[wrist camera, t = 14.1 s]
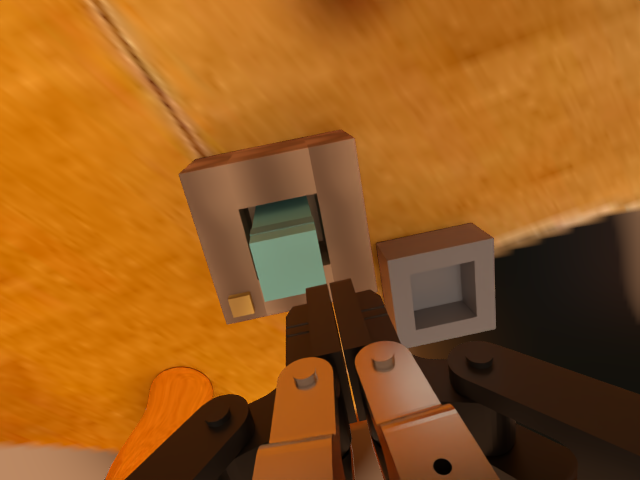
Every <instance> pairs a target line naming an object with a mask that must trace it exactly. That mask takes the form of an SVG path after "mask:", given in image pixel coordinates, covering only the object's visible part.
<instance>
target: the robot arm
mask: <svg viewBox="0 0 640 480" xmlns="http://www.w3.org/2000/svg"><path fill="white" fill-rule="evenodd" d="M329 285H330V290H331V295H332V299H333V304H334V309H335V313H336V318H337V323H338V328H339V332H340V337H341V342H342V346H343V351H344V356H345V360H346V364H347V369H348V373H349V378H350V382H351V386H352V391H353V395H354V400H355V404H356V408H357V413H358V417H359V421H363V420H367V423H368V427H369V431H370V436H371V440H372V445H373V449H374V452H375V455H376V458H377V461H378V464H379V467H380V470H381V473H382V476H383V479H384V480H640V395H639V394H636V393H633V392H630V391H628V390H625V389H622V388H619V387H616V386H613V385H610V384H608V383H605V382H602V381H599V380H596V379H593V378H590V377H588V376H585V375H582V374H579V373H576V372H573V371H570V370H568V369H565V368H562V367H559V366H556V365H553V364H550V363H547V362H544V361H541V360H539V359H536V358H533V357H530V356H527V355H525V354H522V353H519V352H516V351H513V350H510V349H507V348H504V347H501V346H499V345H496V344H492V343H489V342H483V341H471V342H465V343H462V344H460V345H458V346H456V347H455V348H453V349H452V350H451V351H450V353H449V355H448V360H444V359H441V360H439V359H425V358H420V357H417V356H415V355H412V354H411V353H410V351H409V350H408V348H406V347H405V346H404V345H402V344H401V342H400V340H399V338H398V335H397V333H396V331H395V329H394V326H393V324H392V322H391V319H390V317H389V315H388V313H387V310H386V308H385V306H384V304H383V301H382V299H381V297H380V296H379V295H378V294H376V293H375V292H373V291H372V290H370V289H369V290H365V291H360V292H356V293H355V290H354V287H353V283H352V280H351V278H349V279H345V280H340V281H336V282H331V283H329ZM306 301H307V304H302V305H298V306H293V307H292V308H291V310H290V312H289V313H288V315H287V316H286V367H285V368H284V369H283V371H282V372H281V373H280V375H279V377H278V381H277V388H276V389H275V390H273V391H272V392H271V393H269V394H268V395H266V396H264V397H262V398H260V399H258V400H256V401H254V402H252V403H250V404H248V403H247V401H246V400H245V399H244V398H243V397H241V396H239V395H233V394H228V395H222V396H219V397H216V398H214V399H212V400H210V401H208V402H207V403H205V404H204V405H202V406H201V407H200V408H199V409H198V410H197V411H196V412H195V413H194V414H193V415H192V416H191V417H190V418H189V419H187V420H186V421H185V422H184V423H183V424H182V425H181V426H180V427H179V428H178V429H177V430H176V431H175V432H174V433H173V434H172V435H171V436H170V437H169V438H168V439H167V440H165V441H164V442H163V443H162V444H161V445H160V446H159V447H158V448H157V449H156V450H155V451H154V452H153V453H152V454H151V455H150V456H149V457H148V458H147V459H146V460H145V461H143V462H142V463H141V464H140V465H139V466H138V467H137V468H136V469H135V470H134V471H133V472H132V473H131V474H130V475H129V476H128V477H127V478H126V479H125V480H355V472H354V461H353V451H352V447H351V439H352V438H351V431H350V425H349V424H350V423H354V422H357V420H356V415H355V410H354V405H353V400H352V396H351V391H350V386H349V381H348V376H347V372H346V367H345V362H344V357H343V352H342V347H341V343H340V338H339V333H338V329H337V324H336V320H335V316H334V311H333V307H332V302H331V298H330V294H329V289H328V285H327V284H322V285H318V286H313V287H309V288H306ZM515 421H517V422H519V423H521V424H524V425H526V426H528V427H530V428H532V429H534V430H536V431H539V432H540V433H543V434H545V435H547V436H549V437H551V438H553V439H555V440H557V441H559V442H561V443H562V444H564V445H565V446H566V447H568V448H569V449H568V448H566V447H564V446H562V445H560V444H558V443H556V442H554V441H551V440H549V439H547V438H545V437H543V436H541V435H539V434H537V433H535V432H533V431H531V430H528V429H526V428H524V427H522V426H520V425H518V424H516V423H515Z"/></svg>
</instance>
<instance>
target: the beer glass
mask: <svg viewBox="0 0 640 480" xmlns="http://www.w3.org/2000/svg"><path fill="white" fill-rule="evenodd" d="M212 397H213V388H212V385H211V383H210V381H209V380H208V378H207V377H206V376H205V375H203V374H202V373H200V372H199V371H196V370H194V369H191V368H185V367H177V368H171V369H168V370H165V371H163V372H162V373H160V374H159V375H158V376H157V377H156V378H155V379H154V380H153V382H152V384H151V387H150V391H149V398H148V403H147V407H146V410H145V412H144V414H143V416H142V418H141V420H140V421H139V423H138V424H137V426H136V427H135V429H134V430H133V432H132V433H131V435H130V436H129V438H128V439H127V441H126V442H125V444H124V445H123V447H122V448H121V450H120V451H119V453H118V455H117V456H116V458H115V460H114V462H113V463H112V465H111V467H110V469H109V471H108V473H107V475H106V477H105V479H104V480H125V479H126V478H127V477H128V476H129V475H130V474H131V473H132V472H133V471H134V470H135V469H136V468H137V467H138V466H139V465H140V464H141V463H142V462H143V461H145V460H146V459H147V458H148V457H149V456H150V455H151V454H152V453H153V452H154V451H155V450H156V449H157V448H158V447H159V446H160V445H161V444H162V443H163V442H164V441H165V440H167V439H168V438H169V437H170V436H171V435H172V434H173V433H174V432H175V431H176V430H177V429H178V428H179V427H180V426H181V425H182V424H183V423H184V422H185V421H186V420H187V419H189V418H190V417H191V416H192V415H193V414H194V413H195V412H196V411H197V410H198V409H199V408H200V407H201V406H202V405H204V404H205V403H207V402H208V401H210V400H212Z"/></svg>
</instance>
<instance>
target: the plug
mask: <svg viewBox="0 0 640 480" xmlns="http://www.w3.org/2000/svg"><path fill="white" fill-rule="evenodd" d="M249 245H250V249H251V253H252V256H253V260H254V264H255V267H256V271H257V275H258V278H259V282H260V286H261V290H262V293H263V297H264V301H265V302H267V301H271V300H276V299H281V298H285V297H290V296H295V295H300V294H304V293H306V288H309V287H313V286H318V285H322V284H326V278H325V273H324V268H323V263H322V258H321V253H320V248H319V243H318V238H317V233H316V228H315V223H314V219H313V216H312V215H311V211H310V207H309V204H308V200H307V196H301V197H296V198H292V199H287V200H282V201H277V202H272V203H267V204H263V205H258V206H256V208H255V214H254V219H253V225H252V229H251V230H250V242H249Z"/></svg>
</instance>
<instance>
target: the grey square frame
mask: <svg viewBox="0 0 640 480" xmlns="http://www.w3.org/2000/svg"><path fill="white" fill-rule="evenodd" d="M376 246H377V253H378V260H379V267H380V274H381V281H382V288H383V295H384V302H385V308H386V310H387V313H388V315H389V317H390V319H391V322H392V324H393V326H394V329H395V331H396V333H397V335H398V338H399V340H400V342H401V344H402V345H404V346H405V347H406V348H410V347H415V346H419V345H424V344H429V343H433V342H438V341H442V340H447V339H451V338H456V337H460V336H465V335H470V334H474V333H479V332H483V331H488V330H492V329H496V317H495V276H494V238H493V237H491V236H490V235H488V234H487V233H486V232H484V231H483V230H481V229H480V228H478V227H477V226H475V225H474V224H473V223H468V224H464V225H459V226H454V227H450V228H445V229H440V230H435V231H431V232H426V233H421V234H417V235H412V236H407V237H402V238H398V239H393V240H388V241H384V242H379V243H376Z"/></svg>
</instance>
